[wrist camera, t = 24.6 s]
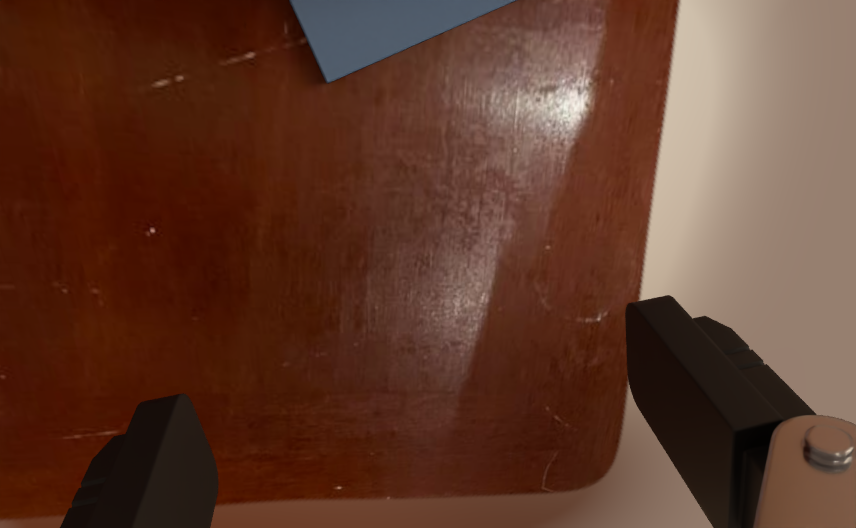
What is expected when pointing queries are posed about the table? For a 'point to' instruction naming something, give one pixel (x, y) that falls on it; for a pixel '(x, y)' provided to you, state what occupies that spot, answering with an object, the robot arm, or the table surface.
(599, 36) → the table surface
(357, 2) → the board
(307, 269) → the table surface
